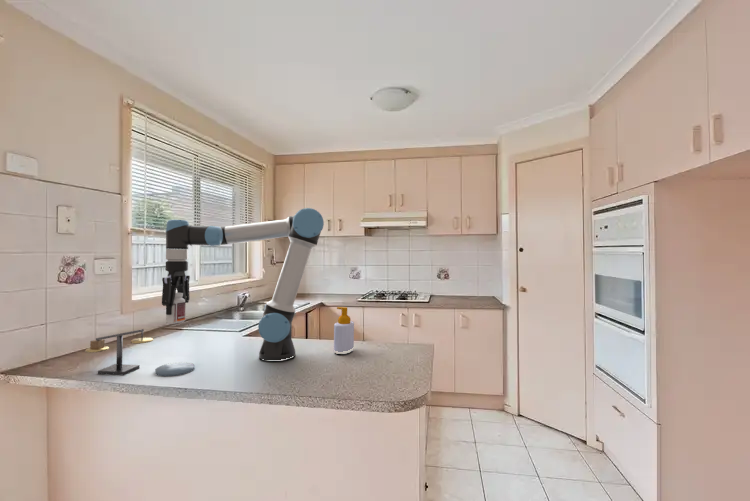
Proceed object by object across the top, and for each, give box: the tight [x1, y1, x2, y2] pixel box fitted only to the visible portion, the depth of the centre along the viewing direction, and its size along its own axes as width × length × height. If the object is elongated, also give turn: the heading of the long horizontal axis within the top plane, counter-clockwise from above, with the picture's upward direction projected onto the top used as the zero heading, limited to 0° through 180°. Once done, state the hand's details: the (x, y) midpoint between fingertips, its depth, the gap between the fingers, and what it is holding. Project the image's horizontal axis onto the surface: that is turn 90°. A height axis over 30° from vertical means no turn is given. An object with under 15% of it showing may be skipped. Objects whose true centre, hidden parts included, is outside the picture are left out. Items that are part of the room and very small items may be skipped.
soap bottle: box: [333, 306, 355, 352], centre depth 170 cm, size 13×8×20 cm, turn 162°
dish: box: [155, 361, 195, 377], centre depth 140 cm, size 13×13×1 cm
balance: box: [85, 328, 154, 376], centre depth 138 cm, size 25×8×16 cm, turn 86°
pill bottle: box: [172, 292, 186, 325], centre depth 140 cm, size 6×6×11 cm
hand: (175, 321), depth 140 cm, fingers closed on pill bottle, 6 cm apart
